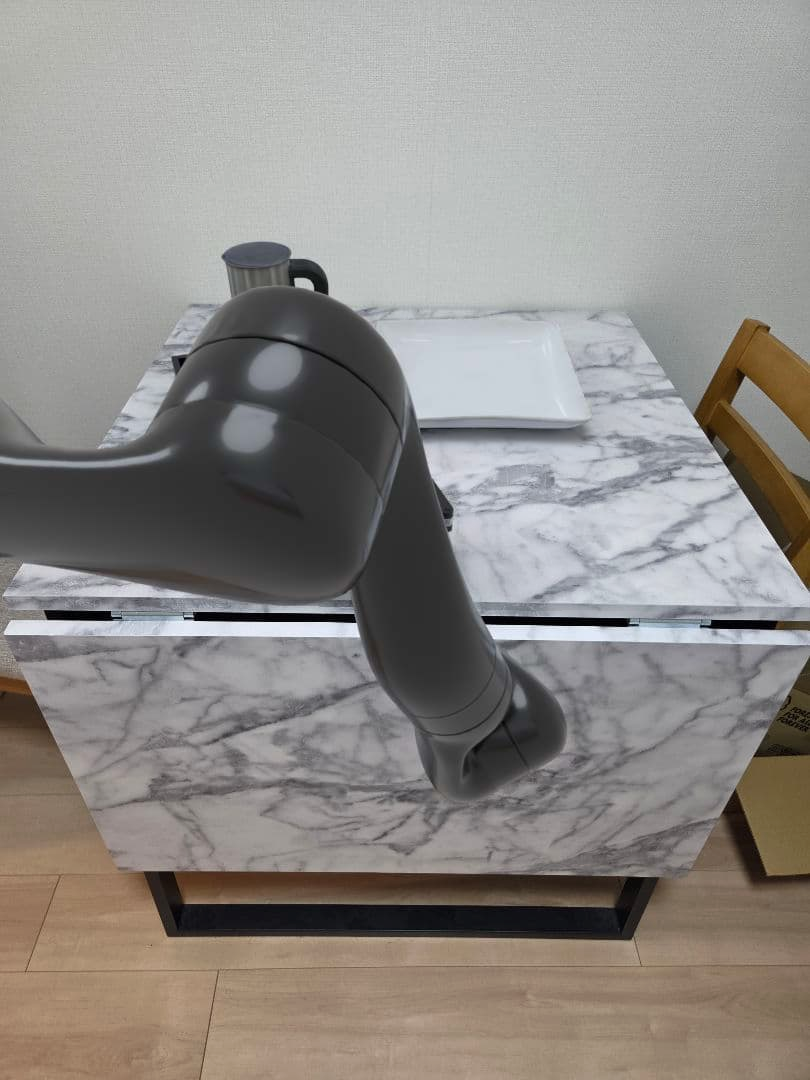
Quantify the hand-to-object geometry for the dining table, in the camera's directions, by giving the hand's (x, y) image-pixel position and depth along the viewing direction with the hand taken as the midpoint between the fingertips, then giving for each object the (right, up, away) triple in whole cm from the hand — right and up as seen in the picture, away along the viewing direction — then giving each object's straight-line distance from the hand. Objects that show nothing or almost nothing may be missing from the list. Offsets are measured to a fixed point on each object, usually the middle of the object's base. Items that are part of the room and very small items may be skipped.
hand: (353, 473), depth 76 cm
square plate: (+15, +14, +27) cm, 34 cm away
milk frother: (-14, +23, +36) cm, 45 cm away
